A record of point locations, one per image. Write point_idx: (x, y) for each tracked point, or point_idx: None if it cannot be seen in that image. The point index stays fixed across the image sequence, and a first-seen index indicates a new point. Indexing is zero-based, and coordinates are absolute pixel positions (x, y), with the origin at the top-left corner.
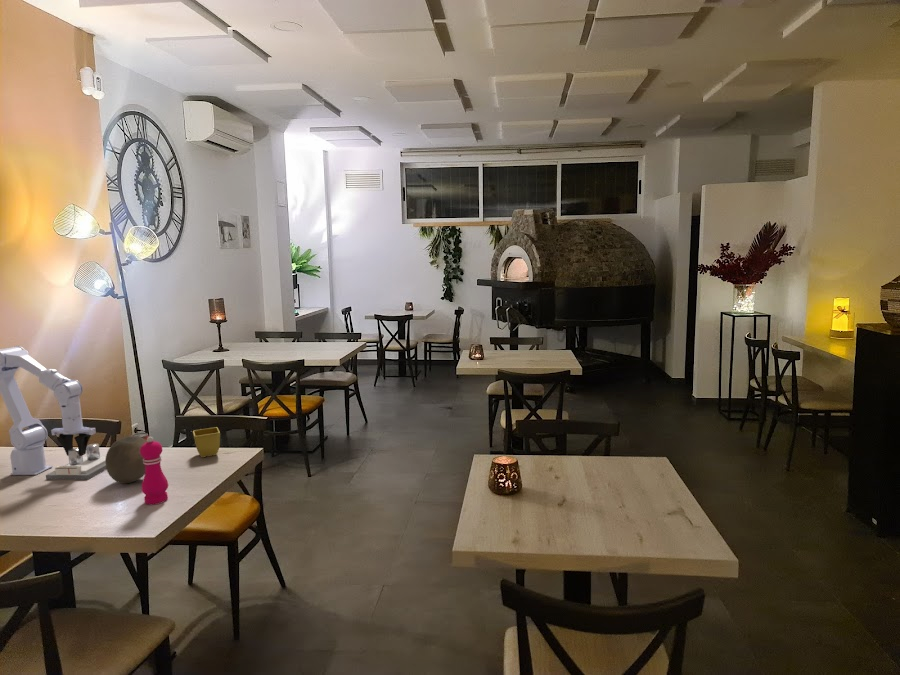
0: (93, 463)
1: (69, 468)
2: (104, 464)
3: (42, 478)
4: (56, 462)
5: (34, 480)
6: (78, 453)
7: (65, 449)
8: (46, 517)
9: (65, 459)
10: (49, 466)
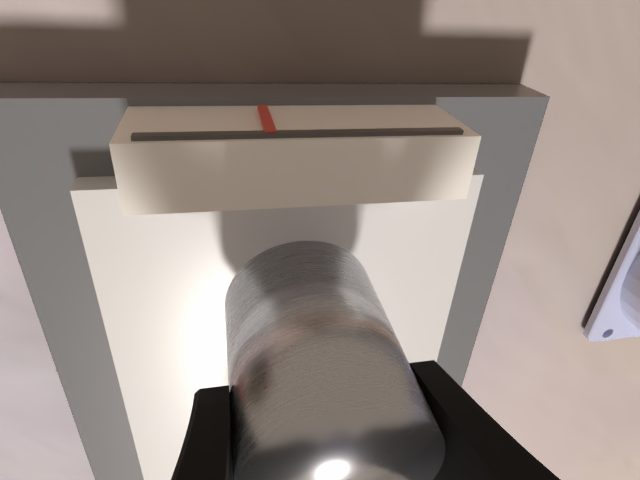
0: (190, 377)
1: (252, 130)
2: (101, 395)
3: (567, 111)
4: (585, 395)
5: (625, 55)
6: (240, 411)
7: (492, 440)
8: None
9: (549, 435)
10: (603, 326)
